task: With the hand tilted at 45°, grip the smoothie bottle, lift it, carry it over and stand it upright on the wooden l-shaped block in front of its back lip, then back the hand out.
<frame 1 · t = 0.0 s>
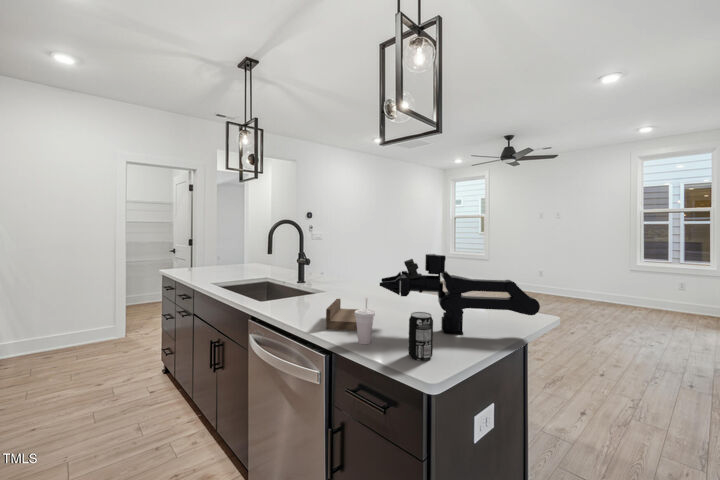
hand: (380, 281, 119), 17 cm above the worktop, tool horizontal, fingers open, 9 cm apart
beverage can: (420, 357, 94), on the worktop
wooden l-shaped block: (349, 322, 126), on the worktop
smoothie: (364, 342, 105), on the worktop
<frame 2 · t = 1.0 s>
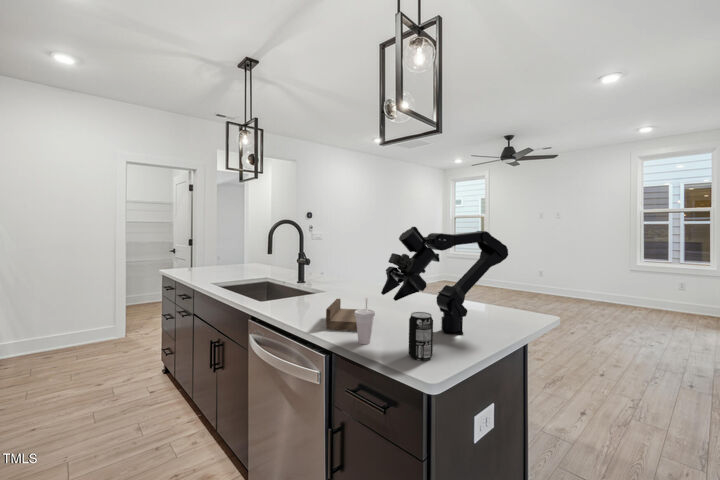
hand: (387, 296, 107), 14 cm above the worktop, tool tilted 45°, fingers open, 9 cm apart
nothing on the worktop moved.
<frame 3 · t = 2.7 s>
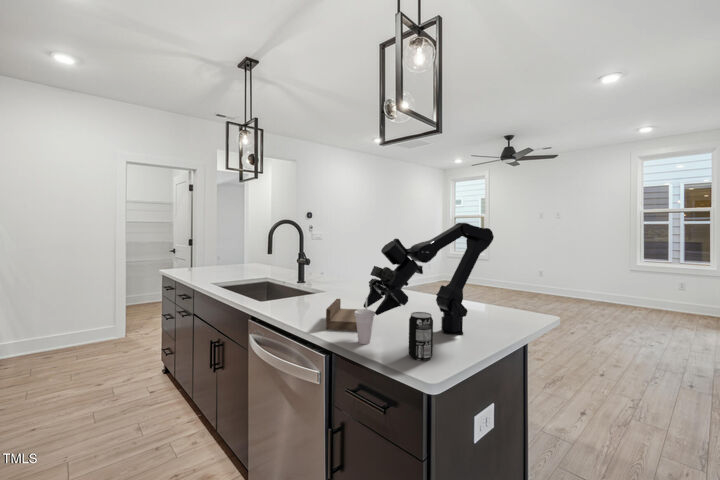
hand: (369, 310, 105), 10 cm above the worktop, tool tilted 45°, fingers open, 9 cm apart
nothing on the worktop moved.
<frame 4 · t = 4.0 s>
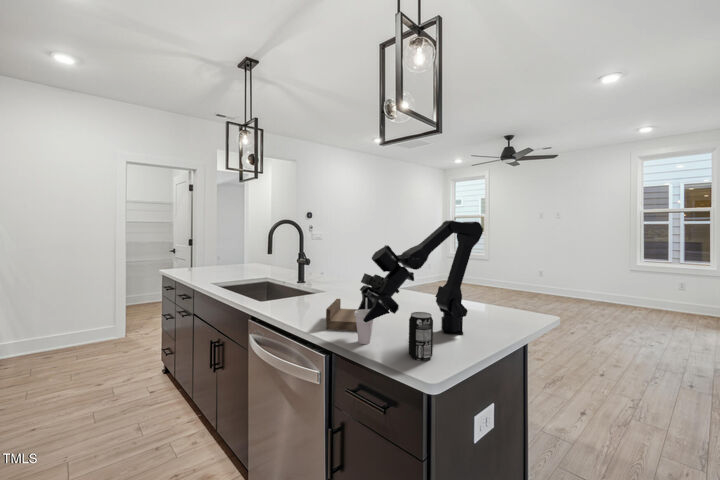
hand: (360, 318, 104), 8 cm above the worktop, tool tilted 45°, fingers closed on smoothie, 6 cm apart
smoothie: (364, 342, 105), on the worktop, touching gripper
everything else where it was.
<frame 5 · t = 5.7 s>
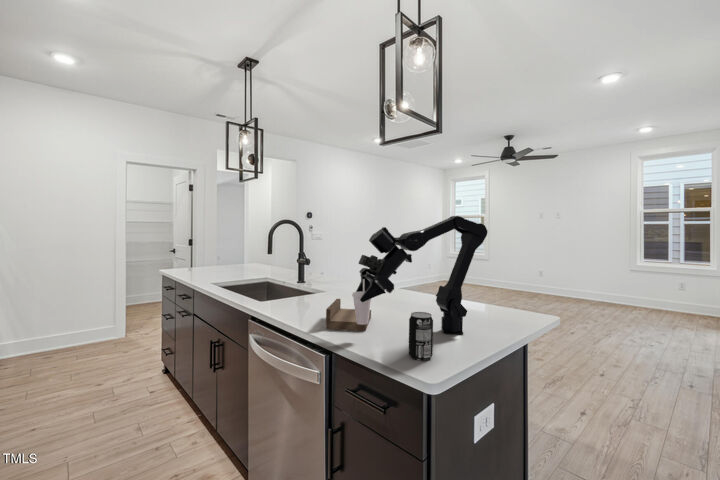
hand: (357, 298, 106), 13 cm above the worktop, tool tilted 45°, fingers closed on smoothie, 6 cm apart
smoothie: (362, 323, 106), point 5 cm above the worktop, touching gripper
everything else where it was.
when the fingers open (12 cm above the worktop, at t = 7.9 s): smoothie stays where it is, resting on wooden l-shaped block.
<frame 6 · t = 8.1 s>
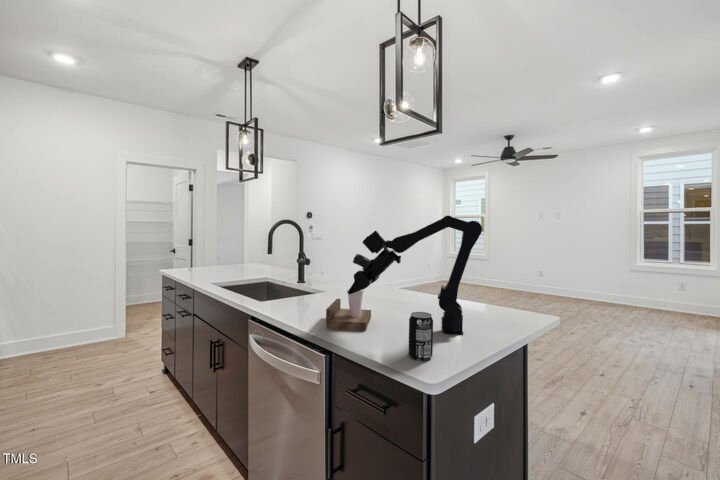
hand: (352, 291, 125), 12 cm above the worktop, tool tilted 45°, fingers open, 9 cm apart
smoothie: (355, 316, 125), point 3 cm above the worktop, touching wooden l-shaped block
everything else where it was.
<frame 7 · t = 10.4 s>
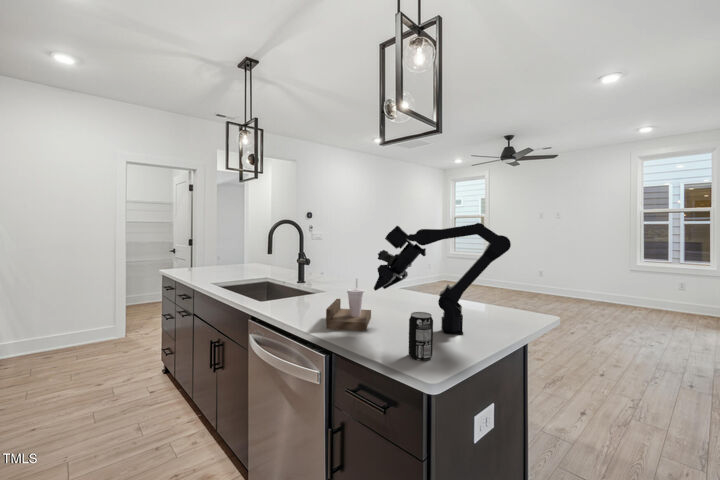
hand: (379, 288, 124), 13 cm above the worktop, tool tilted 40°, fingers open, 9 cm apart
nothing on the worktop moved.
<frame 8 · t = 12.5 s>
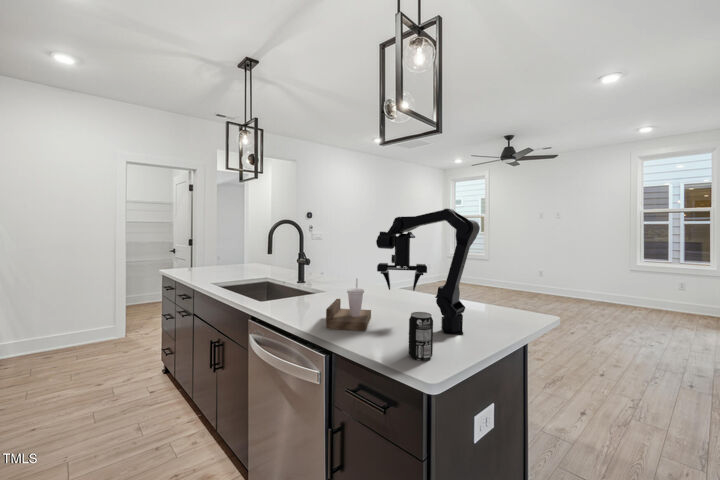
hand: (401, 290, 129), 12 cm above the worktop, tool pointing down, fingers open, 9 cm apart
nothing on the worktop moved.
at the end: smoothie inside the target area on the wooden l-shaped block (1.5 cm from its centre), point 2.8 cm above the wooden l-shaped block's base; smoothie tilted 0°; the gripper is holding nothing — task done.
